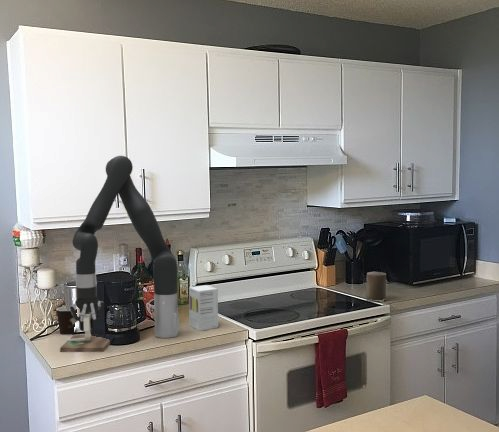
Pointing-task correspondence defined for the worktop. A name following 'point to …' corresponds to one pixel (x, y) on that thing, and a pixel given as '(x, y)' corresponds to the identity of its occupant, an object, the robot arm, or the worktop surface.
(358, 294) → the worktop surface
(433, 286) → the worktop surface
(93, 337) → the dial plate
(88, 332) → the tuning peg
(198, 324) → the supplement box
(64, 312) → the coffee mug
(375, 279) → the pillar candle
